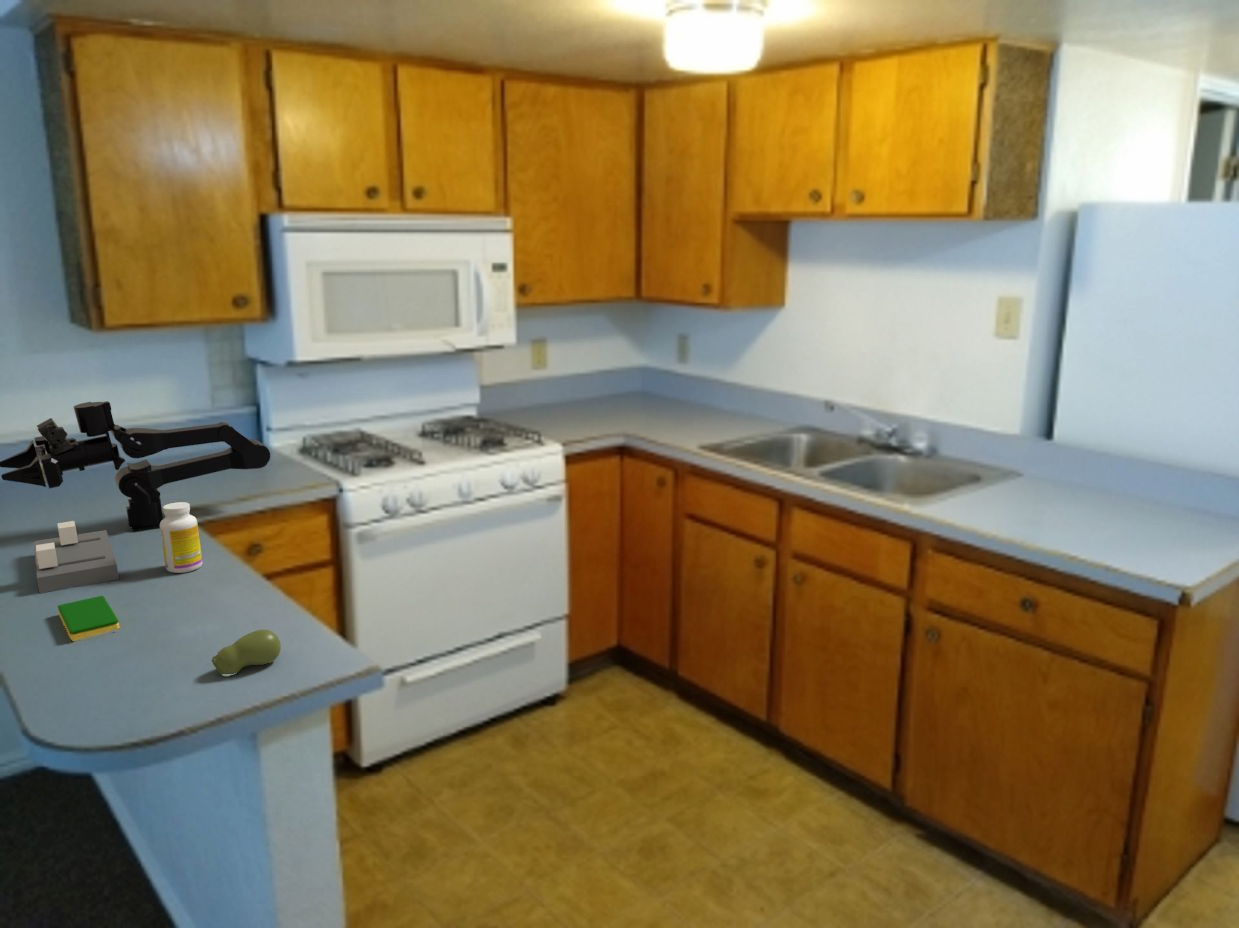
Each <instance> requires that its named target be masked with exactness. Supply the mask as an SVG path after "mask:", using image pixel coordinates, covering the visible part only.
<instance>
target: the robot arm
mask: <svg viewBox="0 0 1239 928" xmlns="http://www.w3.org/2000/svg"><path fill="white" fill-rule="evenodd" d="M73 410H74V413H75V417H76V421H77V425H78V429H79V432H80V434H85V435H86V437H87V438H86V439H82V440H77V439H76V438H74V437H72V438H68V437H67V436H68V432H67V431H66V430H65V429H64V427H63V426H59V425H57V423H56V422H55V420H53V418H51V417H50V418H49V419H47V420H44V421H43V422H41V423H39V424H37V425H36V427H37V431H38V432H39V434H40V435H41V436H37V437H36V436H35V437H33V439H34V440H33V439H31V441H30V443H29V445H28V446H27V447H26V449H24V450H22V451H20V452H18V453H16V454H14V455H11V456H9V457H7V458H5V459H3V460H1V461H0V468H5V469H13V470H10V471H7V472H4V473H2V474H1V475H0V477H1V479H2V481H5V482H6V481H8V482H13V483H14V482H15V483H21V484H29V485H34V486H35V485H36V486H41V487H43V488H46V487H47V486H48V489H54V488H59V487H60V486H61V485H62V483H63V482H64V480H63V479H64V478H63V475H64V472H65V473H66V472H69V471H73V470H79V472H83V471H86V468H88V467H91V466H92V467H93V466H97V465H101V464H105V463H111V462H112V466H113V468H114V470H116V471H117V473H116V474H115V478H114V482H115V484H116V486H117V488H118V490H119V492H120V493H122V495H124V497H127V498H128V499H127V504H128V506H125V511H126V516H127V524H128V526H129V528H131V529H132V532H139V531H145V530H146V531H147V530H152V529H157V528H159V529H160V523H161V521H162V520H163V519H164V516H163V515H164V513H163V507H162V500H161V492H160V490H159V488H161V487H162V486H164V485H167V484H171V483H174V482H179V481H184V480H188V479H192V478H196V477H200V476H205V475H210V474H214V473H218V472H222V471H226V470H254V469H255V470H257V469H258V470H259V469H262V468H264V467H266V466H267V465H268V464H269V462H270V460H271V452H270V450H269V448H268V447H267V446H266V445H264V444H263V443H262V442H261V441H259V440H257V439H254V438H250V439H248V438H247V437H245V436H244V435H242V434H241V433H240V432H239V431H238V430H236V429H235V427H234V426H232V425H231V424H229V423H228V422H226V421H225V422H224V421H222V422H218V423H212V424H204V425H197V426H187V427H180V428H179V427H178V428H171V429H170V428H169V429H157V428H147V427H146V428H141V427H130V428H125V427H123V426H121V425H119V424H115V423H114V418H113V413H112V405H111V402H110V401H108V400H107V401H93V402H92V401H87V402H82V403H79V404H76V405H74V406H73ZM109 432H110V433H109ZM110 434H111V435H112V436H113V438H114V439H115V440H116V441H117V442H118V444H119V447H118V444H117V443H114V442H112V441H111V440H112V439H111V437H110ZM220 442H221V443H222V442H223V443H226V445H228V446H229V448H227V449H225V450H223V451H219V452H215V453H210V454H207V455H201V456H197V457H192V458H188V459H187V458H186V459H183V460H179V461H174V462H169V463H166V464H165V463H164V464H161V465H152V464H151V463H150V462H149V461H148V459H144V460H143V459H142V458H145V457H149V456H152V455H155V454H159V453H161V452H162V451H167V450H169V449H174V448H182V447H190V446H197V445H204V444H213V443H220ZM119 448H121V450H122V451H123V453H124V454H125V455H126V456H128V457H129V458H132V459H142V460H141V461H138V462H137V461H136V462H134V463H130V462H127V463H126V466H124V467H122V468H121V466H122V465H123V463H125V462H126V459H125V458H124V457H122V456H121V455H120V450H119ZM46 483H47V484H46ZM129 498H130V499H129Z"/></svg>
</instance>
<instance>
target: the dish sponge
mask: <svg viewBox="0 0 1239 928" xmlns="http://www.w3.org/2000/svg"><path fill="white" fill-rule="evenodd" d="M57 611H58V616H59V618H61V619H60V621H61V620H62V621H61V623H62V622H63V623H62V625H63V627H64V626H65V627H64V629H65V628H66V629H65V631H66V630H67V631H66V633H67V632H68V633H67V635H68V638H69V637H70V638H69V640H70V639H71V640H72V641H75V640H78V639H84V638H88V637H91V636H95V635H99V634H103V633H105V632H109V631H112V630H117V629H118V628H120V623H119V622H120V621H119V619H118V617H117V615H116V614H115V612H114V611H113V609H112V608H111V606H110V605H109V603H108V601H107V599H106V598H105V597H104V595H99V596H95V597H89V598H85V599H80V600H77V601H72V602H67V603H63V604H59V605H57ZM71 640H70V641H71Z"/></svg>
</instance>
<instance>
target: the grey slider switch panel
mask: <svg viewBox="0 0 1239 928" xmlns="http://www.w3.org/2000/svg"><path fill="white" fill-rule="evenodd" d="M77 539H78V543H73V544H66V545H61V542H60V536H59V537H54V538H47V539H40V540H35V541H33V542H34V552H35V553H34V554H35V568H36V571H35V572H36V579H37V580H36V581H37V585H38V592H39V594H43V593H49V592H54V591H55V592H56V591H60V590H66V589H70V588H71V589H72V588H78V587H84V586H87V585H93V584H98V583H99V584H100V583H105V582H109V581H110V582H111V581H115V580H114V579H116V580H119V571H118V570H119V569H118V566H117V565H118V564H117V561H116V558H115V554H114V551H113V548H112V545H111V541H110V538H109V534H108V532H107V529H105V530H100V531H99V530H98V531H92V532H86V533H79V534H78V533H77ZM53 542H54V545H55V551H56V557H57V563H58V566H55V567H49V568H43V569H39V565H38V559H37V553H36V545H40V544H46V543H53ZM104 581H105V582H104Z"/></svg>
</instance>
